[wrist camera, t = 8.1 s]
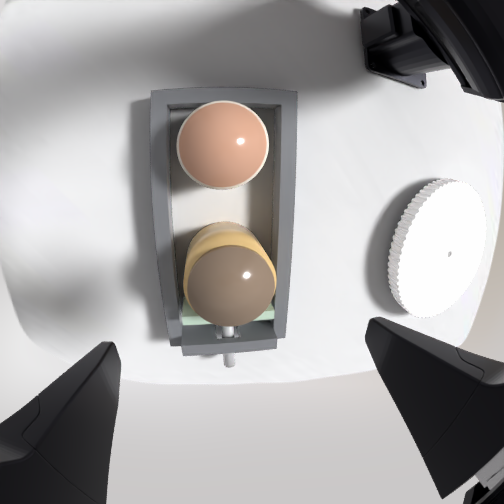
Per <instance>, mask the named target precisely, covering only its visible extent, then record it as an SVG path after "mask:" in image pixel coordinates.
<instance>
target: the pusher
mask: <svg viewBox="0 0 504 504" xmlns="http://www.w3.org/2000/svg"><path fill="white" fill-rule="evenodd" d="M274 311H275V310H274V308H273V306H272V304H271V303H270V305H269V306H268V308H267V309H266V310H265V311H264V312H263V313H262V314H261V315H260V316H259V317H258V318H256V319H255V320H253V321H257V320H268V319H274ZM182 321H183V325H201V324H212V323H210V322H207V321H206V320H204V319H203V318H201V317H200V316H199V315H198V314H197V313H196V312H195V311H194V310H193V309H192V308H191V306H190V305H189V303H188V301H187V299H186V297H184V298H183V310H182ZM222 338H234V326H233V327H225V326H222ZM223 357H224V366H226V367H233V366H234V365H235V354H234V353H227V354H223Z"/></svg>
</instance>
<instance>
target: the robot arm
mask: <svg viewBox="0 0 504 504" xmlns="http://www.w3.org/2000/svg"><path fill="white" fill-rule="evenodd" d="M397 1H398V3H396V4H394V5H390V4H389V5H387V6H385V7H383V8H381V9H380V10H378V11H375V10H373V9H370V8H367V7H363V8H362V9H361V10H360V14H361V29H362V39H363V46H364V52H365V65H366V68H367V70H368V71H370V72H373V73H376V74H380V75H383V76H386V77H389V78H392V79H395V80H398V81H401V82H404V83H407V84H410V85H412V86H415V87H418V88H421V89H422V88H426V73H428V72H433V71H438V70H443V69H449V68H451V69H452V71H453V72H454V74H455V75H456V77H457V79H458V80H459V82H460V84H461V87H462V89H463V91H464V92H466V93H470V94H474V95H478V96H481V97H484V98H486V99H491V100H495V101H498V102H504V0H397ZM365 11H366V12H367V13H368V14H367V13H366V12H365ZM371 64H372V65H373V68H372V67H371ZM421 83H422V84H421ZM365 342H366V344H367V347H368V349H369V351H370V353H371V356H372V358H373V361H374V363H375V365H376V368H377V370H378V372H379V374H380V376H381V378H382V380H383V382H384V383H385V385H386V387H387V389H388V391H389V393H390V395H391V396H392V398H393V400H394V402H395V404H396V406H397V408H398V410H399V411H400V413H401V415H402V417H403V419H404V421H405V423H406V425H407V427H408V429H409V431H410V433H411V435H412V437H413V439H414V441H415V443H416V445H417V447H418V449H419V451H420V453H421V455H422V457H423V459H424V462H425V464H426V466H427V468H428V470H429V472H430V475H431V477H432V479H433V481H434V483H435V486H436V488H437V490H438V492H439V495H440V497H441V498H442V499H444V498H445V497H446V496H448V495H449V494H451V493H452V492H454V491H455V490H456V489H458V488H459V487H460V486H461V485H463V484H464V483H466V482H467V481H468V480H469V479H471V478H472V477H473V476H474V475H476V477H477V478H478V480H479V482H478V483H477V484H476V485H474V486H473V487H472V488H471V489H469V490H468V491H467V492H466V494H465V498H464V502H463V504H504V363H503V362H499V361H495V360H493V359H489V358H486V357H483V356H480V355H477V354H474V353H471V352H468V351H465V350H463V349H460V348H458V347H455V346H452V345H450V344H447V343H445V342H442V341H440V340H437V339H435V338H432V337H430V336H427V335H425V334H422V333H420V332H417V331H415V330H412V329H410V328H407V327H405V326H402V325H400V324H397V323H395V322H392V321H390V320H387V319H385V318H382V317H375V318H371V319H370V320H369V323H368V327H367V331H366V334H365ZM120 374H121V360H120V357H119V354H118V352H117V349H116V346H115V344H114V343H113V342H101V343H100V344H99V345H98V346H96V347H95V348H94V349H93V350H91V351H90V352H89V353H88V354H86V355H85V356H84V357H83V358H82V359H80V360H79V361H78V362H77V363H75V364H74V365H73V366H72V367H71V368H69V369H68V370H67V371H66V372H65V373H63V374H62V375H61V376H60V377H59V378H57V379H56V380H55V381H54V382H52V383H51V384H50V385H49V386H48V387H47V388H45V389H44V390H43V391H42V392H41V393H39V395H38V396H36V397H35V398H33V399H32V400H31V401H30V402H29V403H27V404H26V405H25V406H24V407H23V408H21V409H20V410H19V411H17V412H16V413H14V414H13V415H12V416H10V417H9V418H8V419H6V420H5V421H3V422H2V423H0V504H106V498H107V485H108V473H109V463H110V455H111V447H112V440H113V433H114V427H115V420H116V414H117V409H118V401H119V400H118V399H119V386H120Z"/></svg>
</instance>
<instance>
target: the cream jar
mask: <svg viewBox="0 0 504 504" xmlns="http://www.w3.org/2000/svg"><path fill="white" fill-rule="evenodd" d="M268 150H269V139H268V134H267V130H266V128H265V126H264V124H263V122H262V120H261V119H260V118H259V116H258V115H257V114H256V113H255V112H254V111H252V110H251V109H250V108H248V107H246V106H245V105H242V104H240V103H237V102H233V101H214V102H210V103H207V104H205V105H202V106H201V107H199V108H197V109H196V110H194V111H193V112H192V113H191V114H190V115H189V116H188V117H187V118H186V119H185V121H184V122H183V124H182V126H181V128H180V130H179V133H178V137H177V155H178V159H179V162H180V164H181V166H182V168H183V169H184V171H185V172H186V173H187V175H188V176H189V177H190V178H191V179H193V180H194V181H195V182H197V183H198V184H200V185H202V186H205V187H207V188H211V189H217V190H226V189H232V188H236V187H239V186H241V185H243V184H245V183H247V182H249V181H250V180H251V179H253V178H254V177H255V176H256V175H257V174H258V172H259V171H260V170H261V168H262V167H263V165H264V163H265V161H266V158H267V155H268Z"/></svg>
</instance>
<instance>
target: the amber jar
mask: <svg viewBox="0 0 504 504" xmlns="http://www.w3.org/2000/svg"><path fill="white" fill-rule="evenodd" d="M183 288H184V294H185V297H186V299H187V301H188V303H189V305H190V306H191V308H192V309H193V310H194V311H195V312H196V313H197V314H198V315H199V316H200V317H201V318H203V319H204V320H206V321H207V322H210V323H212V324H215V325H218V326H225V327H233V326H240V325H244V324H246V323H249V322H251V321H253V320H255V319H256V318H258V317H259V316H260V315H261V314H262V313H263V312H264V311H265V310H266V309H267V308H268V306H269V305H270V303H271V301H272V298H273V295H274V293H275V289H276V272H275V269H274V266H273V264H272V262H271V260H270V259H269V257H268V255H267V254H266V252H265V251H264V249H263V248H262V246H261V244H260V243H259V241H258V240H257V238H256V237H255V235H254V234H253V233H252V232H251V231H250V230H249V229H247V228H246V227H244V226H242V225H240V224H237V223H233V222H217V223H213V224H210V225H208V226H206V227H204V228H203V229H201V230H200V231H199V232H198V233H197V234H196V235H195V236H194V237H193V239H192V240H191V242H190V244H189V247H188V250H187V257H186V264H185V272H184V281H183Z"/></svg>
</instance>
